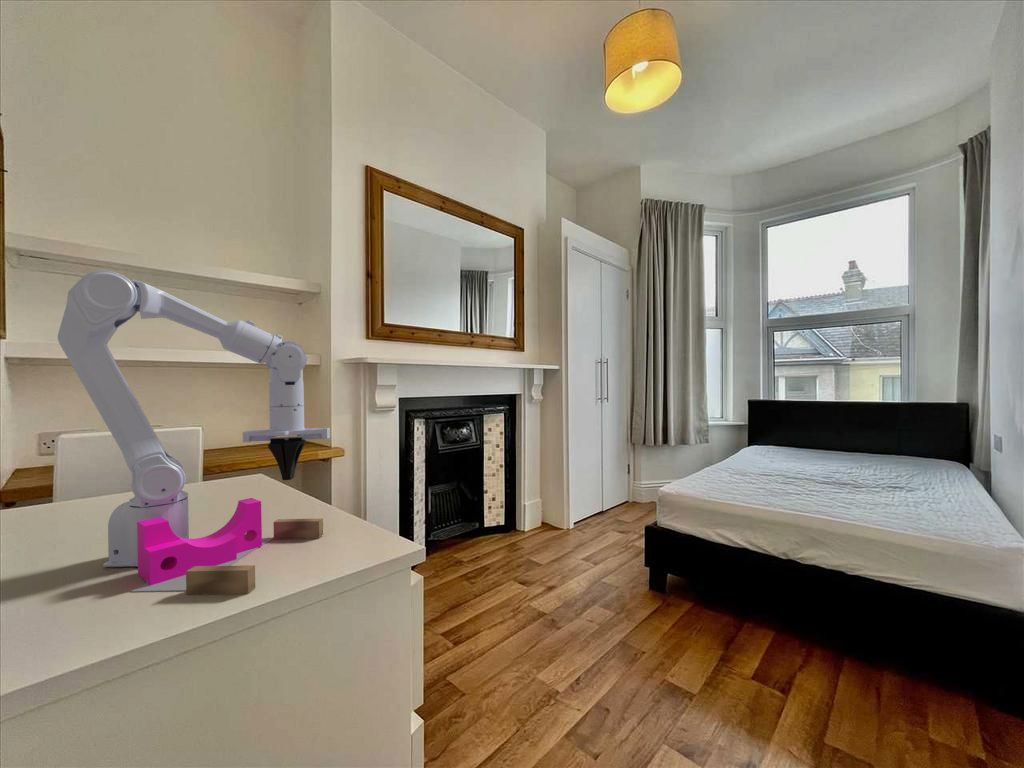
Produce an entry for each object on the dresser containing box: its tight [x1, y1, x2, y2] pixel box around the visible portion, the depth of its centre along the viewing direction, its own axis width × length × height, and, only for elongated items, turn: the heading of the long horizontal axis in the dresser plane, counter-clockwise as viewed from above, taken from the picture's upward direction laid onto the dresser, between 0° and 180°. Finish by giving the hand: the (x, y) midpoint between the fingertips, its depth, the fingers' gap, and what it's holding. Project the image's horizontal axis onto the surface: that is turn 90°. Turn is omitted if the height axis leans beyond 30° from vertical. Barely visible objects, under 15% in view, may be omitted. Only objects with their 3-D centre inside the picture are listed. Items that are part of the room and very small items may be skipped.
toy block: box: [137, 497, 263, 586], centre depth 64 cm, size 15×6×8 cm, turn 143°
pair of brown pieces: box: [185, 517, 324, 596], centre depth 64 cm, size 8×21×3 cm, turn 0°
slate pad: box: [130, 537, 274, 593], centre depth 65 cm, size 8×19×1 cm, turn 179°
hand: (288, 479), depth 79 cm, fingers closed
